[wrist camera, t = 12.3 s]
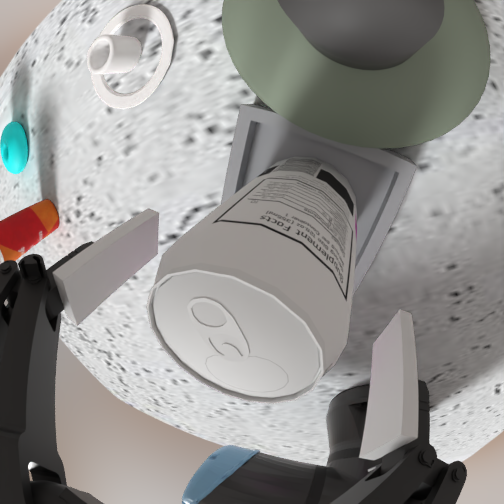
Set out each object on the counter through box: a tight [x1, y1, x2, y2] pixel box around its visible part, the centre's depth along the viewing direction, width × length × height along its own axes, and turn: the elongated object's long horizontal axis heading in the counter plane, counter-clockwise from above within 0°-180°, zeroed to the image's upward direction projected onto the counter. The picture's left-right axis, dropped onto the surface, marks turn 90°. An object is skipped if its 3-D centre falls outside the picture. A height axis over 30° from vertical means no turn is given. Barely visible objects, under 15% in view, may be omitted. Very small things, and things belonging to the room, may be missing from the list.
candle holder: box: [87, 4, 174, 109], centre depth 19 cm, size 12×12×4 cm
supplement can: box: [146, 156, 357, 404], centre depth 16 cm, size 8×8×15 cm
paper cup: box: [0, 199, 59, 264], centre depth 32 cm, size 8×8×14 cm
